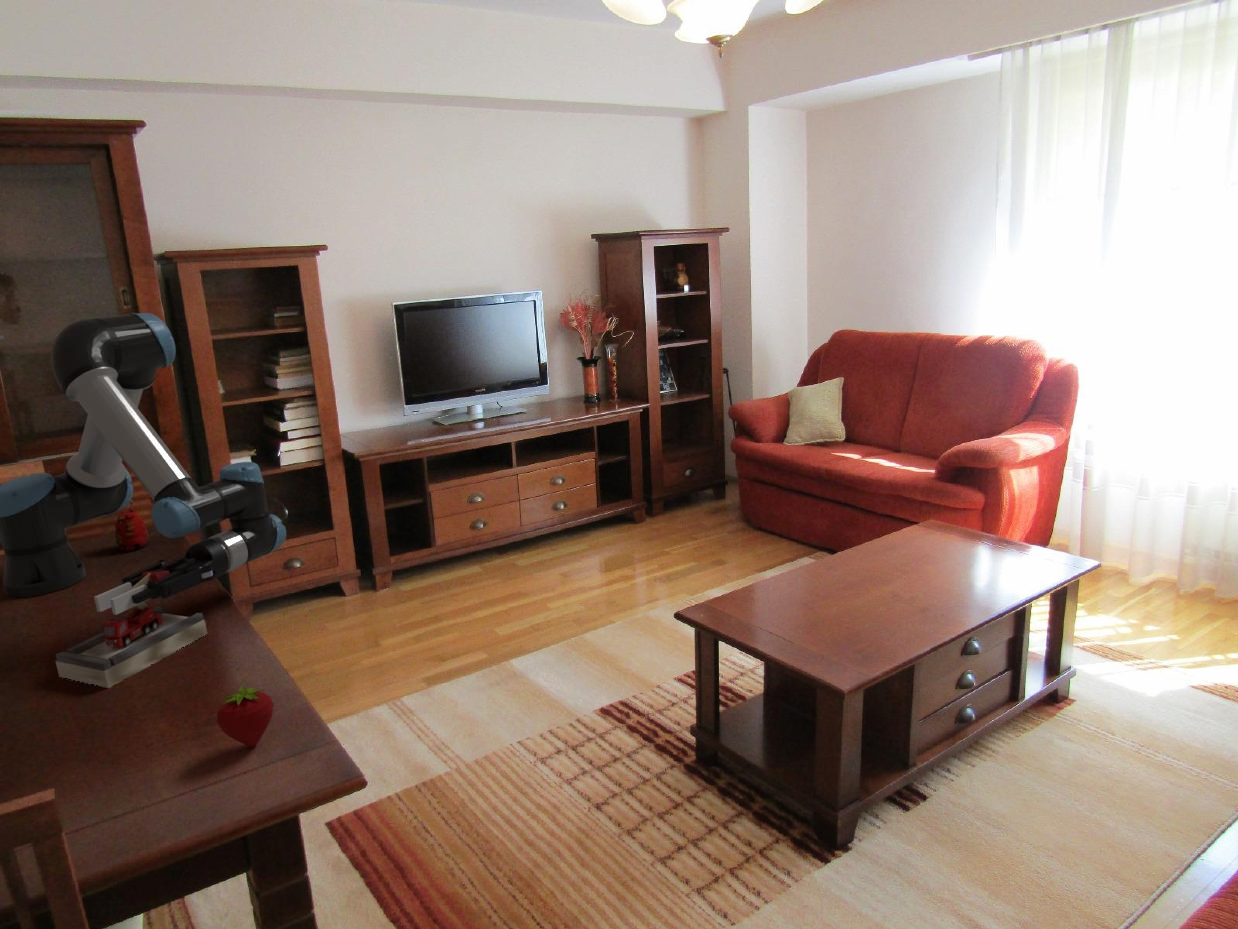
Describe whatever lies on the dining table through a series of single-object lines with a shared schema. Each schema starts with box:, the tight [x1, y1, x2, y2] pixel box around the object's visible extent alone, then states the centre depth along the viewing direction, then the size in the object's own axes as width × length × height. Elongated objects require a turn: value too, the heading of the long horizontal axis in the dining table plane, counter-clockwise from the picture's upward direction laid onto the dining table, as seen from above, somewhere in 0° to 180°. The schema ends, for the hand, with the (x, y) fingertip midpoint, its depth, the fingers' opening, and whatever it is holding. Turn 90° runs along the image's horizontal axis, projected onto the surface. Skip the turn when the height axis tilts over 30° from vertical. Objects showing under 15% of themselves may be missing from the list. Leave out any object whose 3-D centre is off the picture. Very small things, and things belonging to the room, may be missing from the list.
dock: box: [55, 605, 208, 689], centre depth 153 cm, size 20×12×4 cm, turn 157°
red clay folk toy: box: [114, 484, 150, 552], centre depth 209 cm, size 8×7×15 cm
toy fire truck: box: [103, 571, 170, 647], centre depth 154 cm, size 3×14×10 cm, turn 164°
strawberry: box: [216, 679, 275, 748], centre depth 122 cm, size 6×8×10 cm
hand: (105, 605), depth 148 cm, fingers open, 3 cm apart
